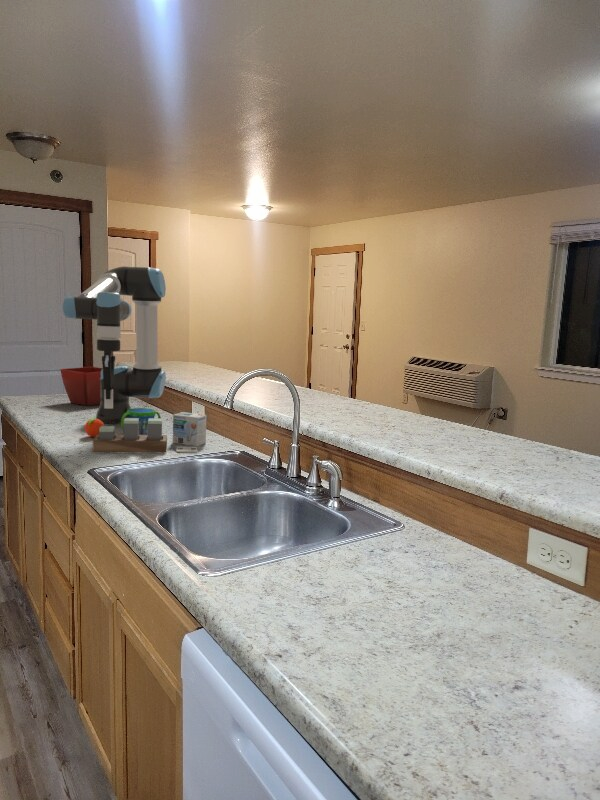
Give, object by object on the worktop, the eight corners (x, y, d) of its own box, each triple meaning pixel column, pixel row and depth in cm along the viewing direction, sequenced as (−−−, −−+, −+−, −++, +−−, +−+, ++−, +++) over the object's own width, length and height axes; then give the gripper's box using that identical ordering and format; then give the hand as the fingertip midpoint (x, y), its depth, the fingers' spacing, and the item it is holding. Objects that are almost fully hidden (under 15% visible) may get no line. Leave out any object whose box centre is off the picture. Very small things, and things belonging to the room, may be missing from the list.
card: (176, 448, 212) (176, 446, 212) (196, 448, 213) (196, 446, 213) (176, 452, 206) (176, 450, 206) (197, 452, 208) (197, 450, 207)
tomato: (96, 440, 219) (96, 421, 218) (79, 438, 220) (79, 419, 219) (107, 435, 227) (107, 417, 226) (91, 434, 228) (91, 415, 227)
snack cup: (156, 432, 237) (156, 406, 236) (165, 437, 229) (166, 411, 227) (116, 435, 229) (116, 408, 227) (125, 440, 220) (125, 413, 219)
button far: (148, 437, 211) (148, 418, 210) (161, 438, 212) (162, 418, 211) (147, 440, 206) (147, 420, 205) (161, 440, 207) (161, 421, 206)
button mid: (124, 437, 209) (125, 418, 208) (138, 437, 210) (138, 418, 209) (123, 440, 205) (123, 420, 204) (137, 440, 206) (137, 420, 205)
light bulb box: (171, 443, 220) (172, 414, 219) (181, 439, 227) (182, 411, 225) (197, 446, 217) (198, 417, 215) (206, 443, 223) (207, 414, 221)
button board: (97, 445, 211) (97, 434, 210) (166, 445, 215) (167, 435, 215) (92, 452, 201) (92, 440, 200) (166, 452, 206) (166, 441, 205)
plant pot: (85, 408, 283) (84, 372, 280) (59, 403, 293) (59, 368, 290) (117, 403, 299) (117, 370, 296) (92, 399, 309) (92, 366, 306)
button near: (101, 445, 208) (101, 426, 207) (114, 445, 209) (114, 426, 208) (99, 449, 204) (99, 428, 203) (113, 449, 205) (113, 429, 204)
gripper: (99, 337, 207) (99, 404, 210) (94, 339, 194) (94, 411, 197) (122, 338, 208) (122, 405, 211) (118, 340, 195) (117, 411, 199)
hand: (108, 408), depth 204 cm, fingers closed
